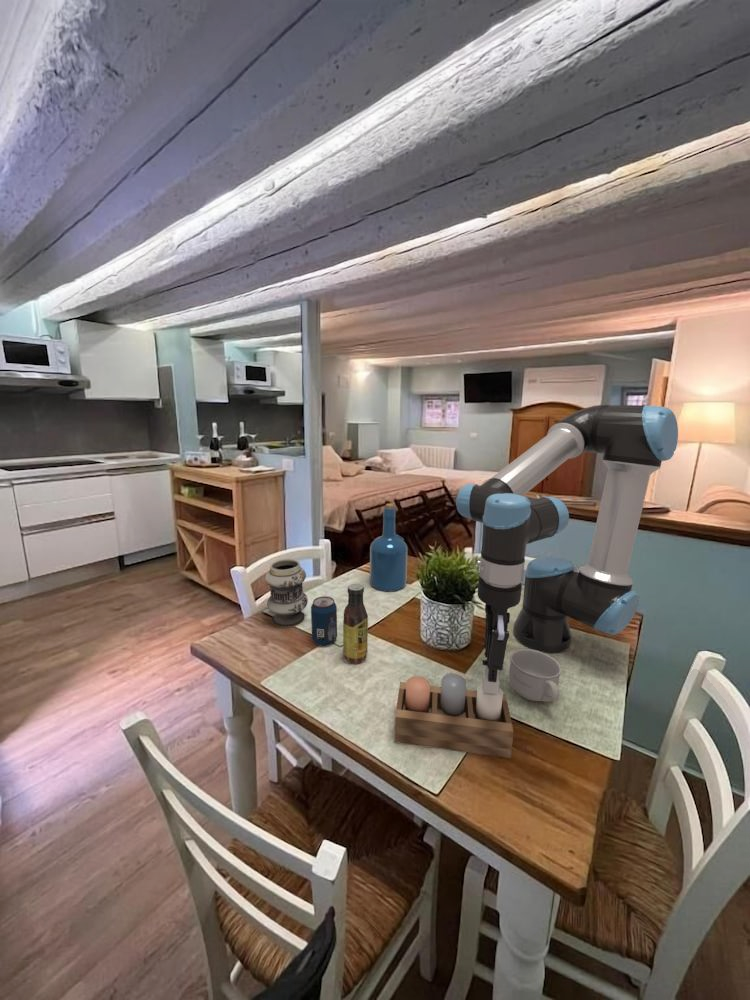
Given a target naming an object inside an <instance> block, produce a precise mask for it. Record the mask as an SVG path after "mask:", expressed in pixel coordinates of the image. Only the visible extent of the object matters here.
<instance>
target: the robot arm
mask: <svg viewBox="0 0 750 1000" xmlns="http://www.w3.org/2000/svg"><path fill="white" fill-rule="evenodd" d="M678 426H679V424H678V421H677V417H676V414H675V413H674V412H673V410H672V409H670V408H668V407H666V406H661V405H660V406H659V405H658V406H657V405H650V404H649V405H648V404H646V405H645V404H644V405H643V404H642V405H640V404H635V405H633V404H632V405H631V404H630V405H628V404H627V405H626V404H624V405H623V404H620V405H619V404H612V405H611V404H598V405H592V406H588V407H586V408H585V407H584V408H582V409H579V410H577V411H575V412H572V414H568V415H567V416H565V417H563V418H561V419H560V420H559V421H557V422H556V423H554V424H553V425H552V426H551V427H550V428H549V429H548V431H547V433H546V436H544V437H542V438H541V439H540V440H539V441H537V442H536V443H535V444H533V445H532V446H531V447H529V448H528V449H527V450H525V451H524V452H523V453H521V454H520V455H519V456H518V457H516V458H515V459H513V461H511V462H510V463H509V464H507V465H506V466H505V467H503V468H502V469H501V470H499V471H498V472H497V473H495V474H494V475H493V476H491V478H489V479H487V480H486V481H485V482H484V483H482V484H481V485H479V484H478V483H477V484H475V483H474V484H471V483H469V484H466V485H464V486H462V487H461V488H460V490H459V491H458V493H457V494H456V498H455V506H456V510H457V512H458V513H459V514H460V515H461V516H462V517H464V518H466V519H469V520H472V521H474V522H477V523H480V524H481V523H482V540H481V550H480V560H477V561H476V565H477V566H478V567H479V572H478V574H479V576H480V577H478V584H477V597H478V599H479V600H480V601H481V602H482V603H483V604H485V606H484V611H485V618H484V620H485V621H484V622H485V626H484V627H485V628H484V644H483V649H484V651H485V652H484V657H485V658H484V659H483V660H482V666H483V676H482V677H483V678H482V684H483V685H482V689H483V693H489V694H497V693H498V688H499V684H500V671H503V669H504V663H505V661H504V660H505V656H506V651H507V646H508V645H507V644H508V640H509V638H510V631H509V630H508V627H509V626H508V624H509V623H510V619H511V616H510V615H511V613H510V612H508V609H510V608H514V607H516V606H518V605H519V604H520V602H521V595H522V588H523V597H522V607H521V608H520V611H519V613H518V615H517V616H516V619H515V621H514V623H513V631H512V632H513V633H512V634H513V636H514V638H515V639H516V640H517V642H519V643H521V644H522V645H524V646H525V647H526V648H529V649H531V650H536V651H540V652H543V653H546V654H547V653H549V654H554V653H555V654H557V653H562V652H566V651H567V650H568V649H569V648H571V642H572V632H571V629H570V624H569V619H568V618H570V619H572V620H575V621H577V622H579V623H581V624H584V625H586V626H589V627H591V628H593V629H594V630H595V631H600V632H602V633H605V634H608V635H611V636H612V635H613V636H615V635H618V634H620V633H622V631H624V630H625V629H626V627H628V626H629V624H630V622H631V621H632V619H633V617H634V616H635V614H636V613H637V609H638V606H639V603H640V595H639V594H638V593H637V592H636V591H634V590H632V588H633V585H634V581H633V580H632V579H631V577H630V575H629V574H628V571H629V568H630V564H631V560H632V559H631V558H632V556H633V551H634V546H635V541H636V537H637V534H638V529H639V524H640V521H641V517H642V512H643V508H644V507H643V506H644V503H645V499H646V495H647V491H648V486H649V483H650V482H649V481H650V477H651V475H652V474H653V473H655V472H656V471H658V470H660V469H661V466H662V462H664V461H665V462H666V461H669V460H671V459H672V458H673V456H674V455H675V451H676V450H677V445H678V441H679V440H678V439H679V427H678ZM583 453H596V454H597V453H598V454H603V457H602V462H603V464H604V466H605V467H606V468H607V472H606V477H605V480H604V481H605V482H604V487H603V491H602V496H601V500H600V504H599V510H598V513H597V519H596V523H595V529H594V533H593V535H592V536H593V537H592V543H591V547H590V551H589V554H588V555H589V556H588V560H587V564H585V565H583V566H581V567H580V568H579V569H578V571H575V568H576V567H575V565H574V563H573V562H572V561H570V560H568V559H565V558H560V557H550V556H549V557H547V556H546V557H545V556H544V557H538V558H537V557H536V558H533V559H531V560H530V561H529V562H528V563H527V565H526V570H525V562H526V560H525V558H526V557H525V556H526V550H527V545H528V544H531V543H534V542H537V541H541V540H545V539H547V538H553V537H555V535H557V534H559V533H562V532H563V531H564V530H565V529H566V528H567V526H568V524H569V520H570V515H569V510H568V507H567V506H566V504H565V503H564V502H563V501H562V500H561V499H560V498H557V497H554V496H541V497H539V498H535V497H530V496H527V495H526V494H527V493H529V492H530V491H531V490H532V489H533V488H535V487H536V486H537V485H538V484H539V483H541V482H542V481H543V480H544V479H546V478H547V476H549V475H551V473H553V472H554V471H556V469H558V468H559V467H560V466H561V465H563V463H565V462H566V461H567V460H568V459H575V458H577V457H578V456H580V455H581V454H583ZM524 572H525V574H524ZM524 577H525V578H524ZM523 581H524V587H523V584H522V582H523Z"/></svg>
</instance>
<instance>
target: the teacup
mask: <svg viewBox="0 0 750 1000" xmlns="http://www.w3.org/2000/svg"><path fill="white" fill-rule="evenodd" d="M561 674H562V666H561V665H560V663H559V662H558V661H557V660H556V659H555V658H554V657H552V656H551V655H549V654H547V653H546V652H541V651H537V650H534V649H531V648H529V649H528V648H521V649H517V650H514V651H513V652H512V653H511V654H510V663H509V671H508V679H509V682H510V684H511V686H512V689H514V690H515V691H516V692H517V694H518V695H520V696H521V697H522V698H524V699H526V700H527V701H528V700H529V701H531V702H532V701H533V702H542V701H543V702H555V701H556V702H557V701H558V699H559V697H560V689H559V681H560V678H561V677H560V676H561Z"/></svg>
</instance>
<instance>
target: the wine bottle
mask: <svg viewBox="0 0 750 1000" xmlns="http://www.w3.org/2000/svg"><path fill="white" fill-rule="evenodd" d="M396 515H397V514H396V508H395V507H394V504H393V503H386V504H385V507H384V508H383V514H382V518H383V522H382V524H383V525H382V535H381V536H378V537H376V538H375V539H374V540H373V541H372V542H371V543H370V546H369V581H370V585H371V586H372V587H373V588H374V589H376V590H378V591H383V592H384V591H385V592H393V591H394V592H395V591H398V590H402V589H404V587H405V585H406V583H407V581H408V580H407V578H408V576H407V575H408V551H409V550H408V545H407V543H406V542H405V539H404V538H403V536H401V535H399V534H397V533H396V517H397V516H396Z"/></svg>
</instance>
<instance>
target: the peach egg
mask: <svg viewBox="0 0 750 1000" xmlns="http://www.w3.org/2000/svg"><path fill="white" fill-rule="evenodd" d="M405 683H406V703H405V710H408V711H416V712H424V713H429V698H430V685H431V683H430V681H429V679H427V678H425V677H424V676H419V675H415V676H411V677H409V678H408V679H406V681H405Z"/></svg>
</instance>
